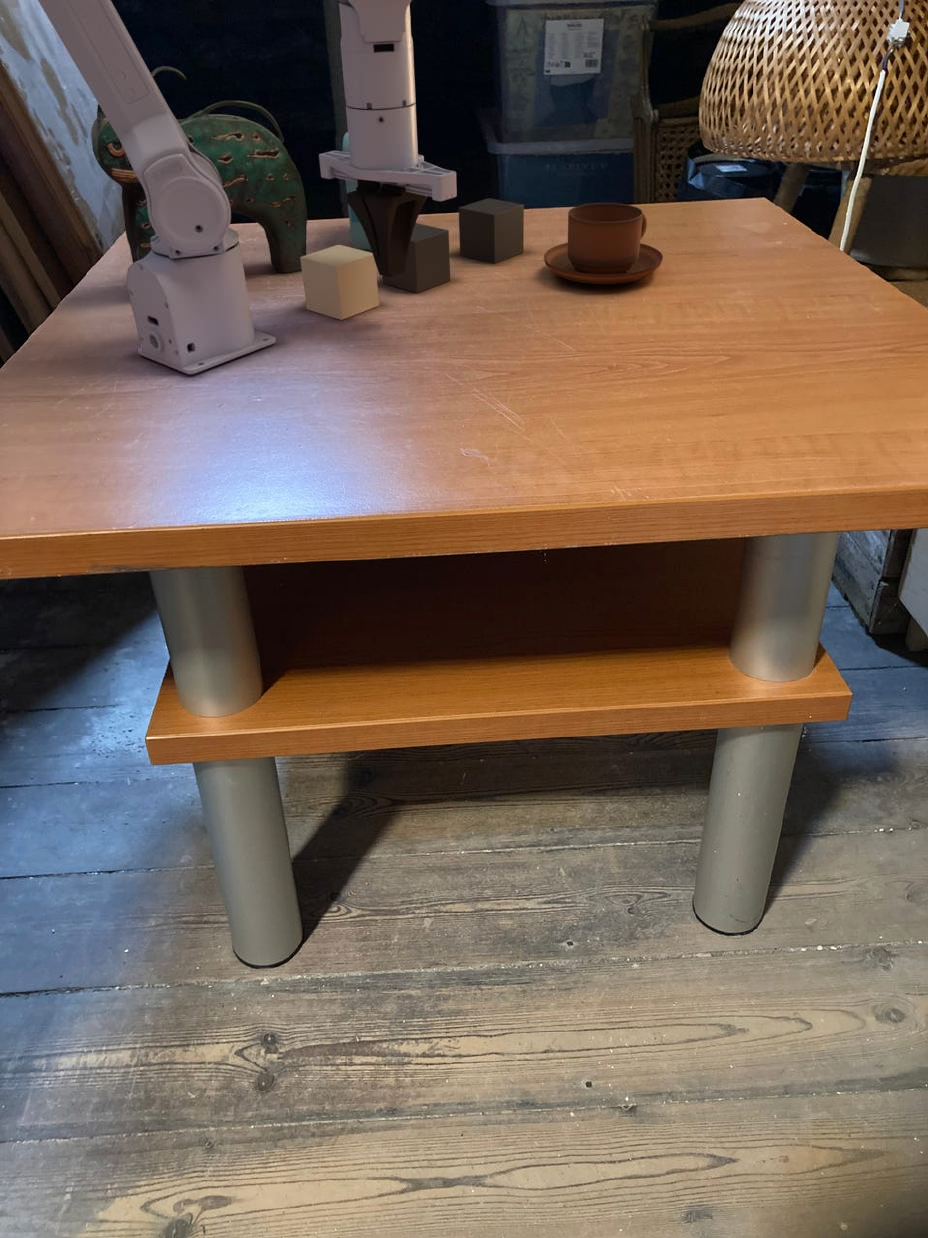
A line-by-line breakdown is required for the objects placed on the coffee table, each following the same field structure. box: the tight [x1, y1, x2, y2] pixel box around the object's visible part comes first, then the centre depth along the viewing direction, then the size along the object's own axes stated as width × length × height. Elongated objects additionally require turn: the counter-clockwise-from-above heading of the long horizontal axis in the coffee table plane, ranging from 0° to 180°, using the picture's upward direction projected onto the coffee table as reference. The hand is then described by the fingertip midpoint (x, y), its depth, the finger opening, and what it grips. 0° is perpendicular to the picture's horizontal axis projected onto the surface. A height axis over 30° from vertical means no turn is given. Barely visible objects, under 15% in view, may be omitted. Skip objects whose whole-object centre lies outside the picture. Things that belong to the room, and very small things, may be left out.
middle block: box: [381, 222, 451, 294], centre depth 98 cm, size 5×5×5 cm
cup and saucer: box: [543, 202, 664, 285], centre depth 97 cm, size 12×12×6 cm
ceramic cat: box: [90, 65, 308, 274], centre depth 95 cm, size 20×6×20 cm, turn 121°
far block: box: [458, 197, 525, 264], centre depth 105 cm, size 5×5×5 cm
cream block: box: [300, 244, 380, 321], centre depth 92 cm, size 5×5×5 cm
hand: (392, 273), depth 87 cm, fingers closed
